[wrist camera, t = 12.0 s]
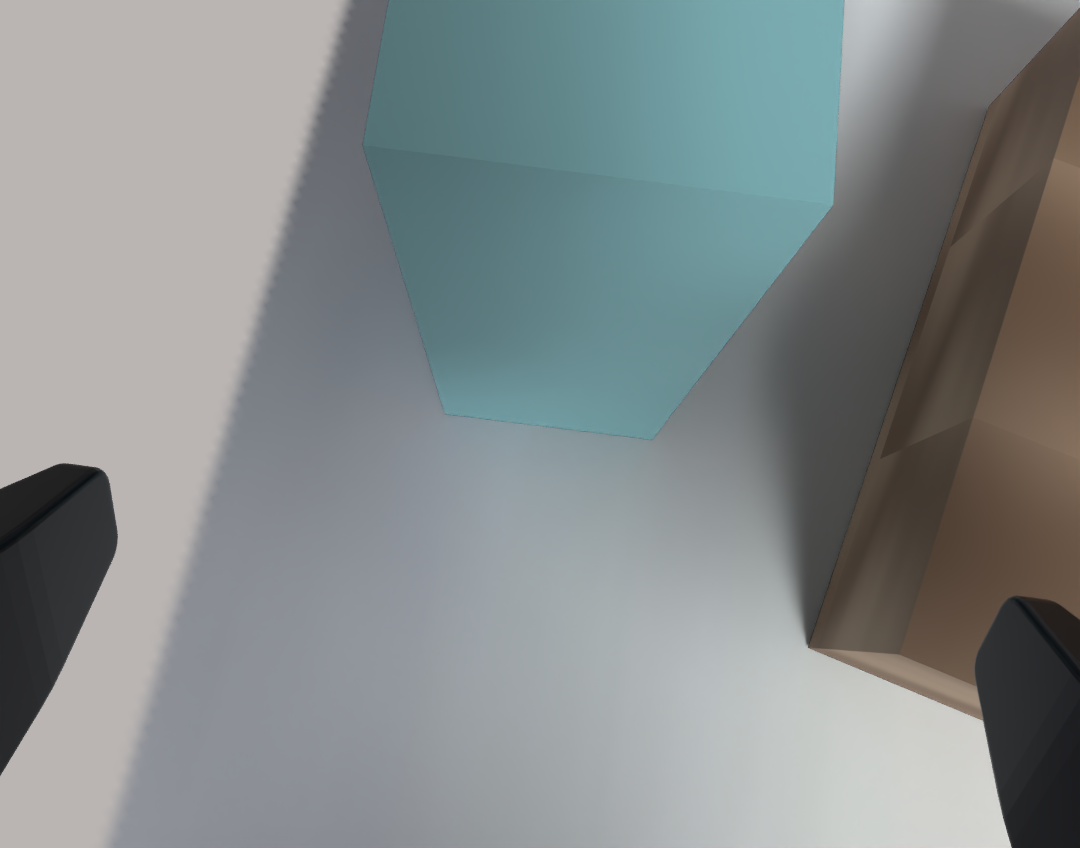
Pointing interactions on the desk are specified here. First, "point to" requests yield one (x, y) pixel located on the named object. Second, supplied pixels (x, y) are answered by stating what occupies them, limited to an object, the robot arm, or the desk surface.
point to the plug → (597, 190)
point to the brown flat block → (979, 413)
